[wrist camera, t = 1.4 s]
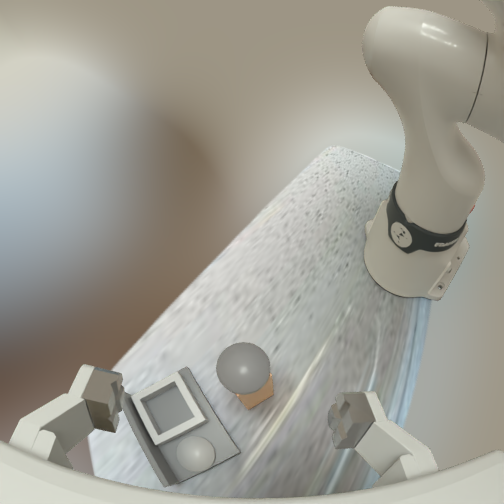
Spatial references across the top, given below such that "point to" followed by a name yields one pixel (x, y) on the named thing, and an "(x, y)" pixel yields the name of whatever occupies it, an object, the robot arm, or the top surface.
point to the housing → (177, 428)
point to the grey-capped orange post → (246, 373)
